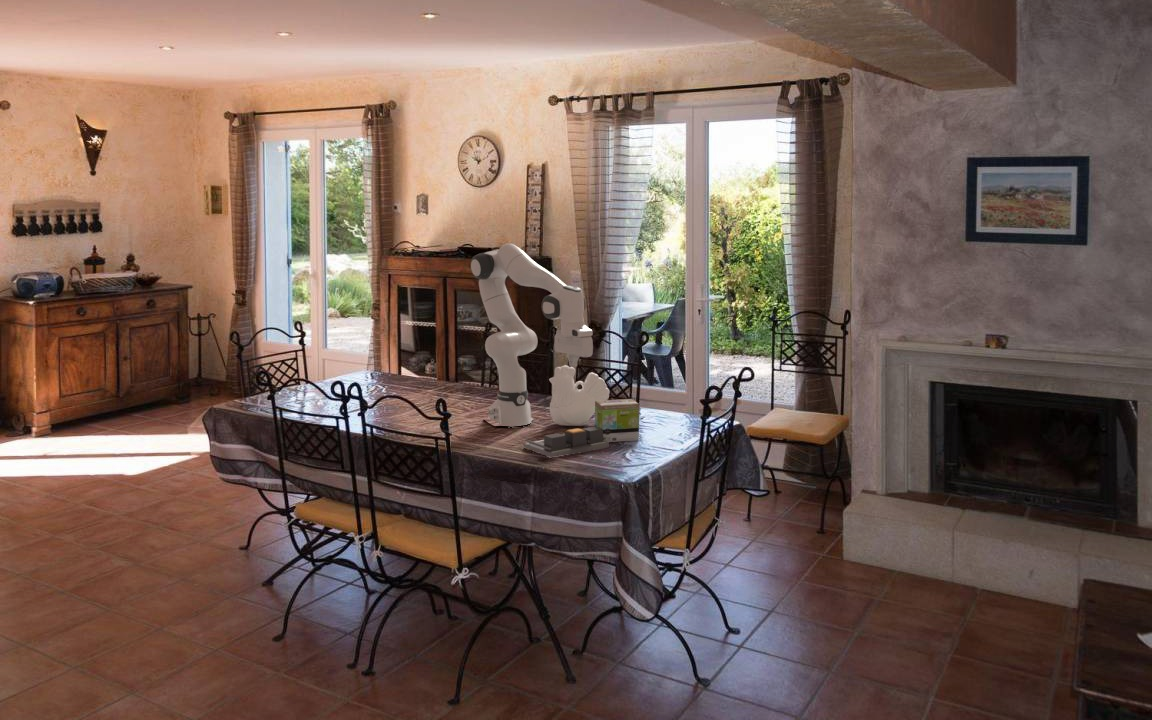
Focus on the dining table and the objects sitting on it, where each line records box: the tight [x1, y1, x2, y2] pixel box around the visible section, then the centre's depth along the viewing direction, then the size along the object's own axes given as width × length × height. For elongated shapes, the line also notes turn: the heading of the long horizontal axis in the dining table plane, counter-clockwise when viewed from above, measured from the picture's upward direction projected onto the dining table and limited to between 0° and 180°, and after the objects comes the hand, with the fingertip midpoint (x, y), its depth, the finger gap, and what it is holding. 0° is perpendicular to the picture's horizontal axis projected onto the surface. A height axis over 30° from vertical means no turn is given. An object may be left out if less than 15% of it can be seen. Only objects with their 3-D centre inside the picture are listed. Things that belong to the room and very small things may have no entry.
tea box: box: [594, 398, 640, 443], centre depth 381 cm, size 15×10×15 cm, turn 105°
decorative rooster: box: [548, 365, 610, 427], centre depth 405 cm, size 25×16×25 cm, turn 95°
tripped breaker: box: [564, 427, 592, 449], centre depth 365 cm, size 9×9×6 cm
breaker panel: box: [523, 425, 610, 457], centre depth 370 cm, size 18×26×7 cm
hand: (573, 366), depth 375 cm, fingers closed
